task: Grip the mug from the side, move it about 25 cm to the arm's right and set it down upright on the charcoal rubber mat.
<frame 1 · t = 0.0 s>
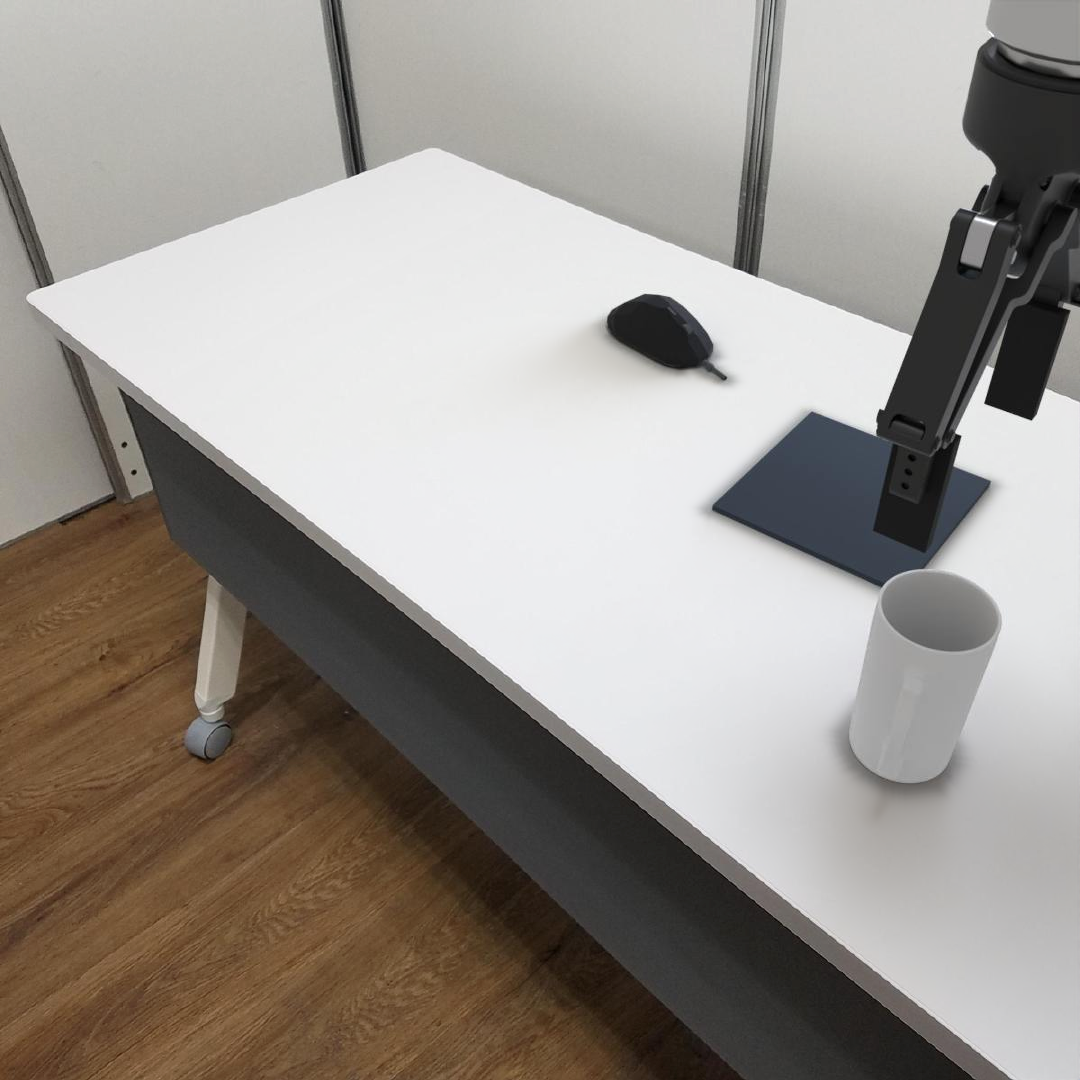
hand: (959, 470, 59), 21 cm above the table, tool pointing down, fingers open, 13 cm apart
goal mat: (851, 497, 90), on the table
mug: (891, 764, 71), on the table
gaming mouse: (669, 348, 107), on the table
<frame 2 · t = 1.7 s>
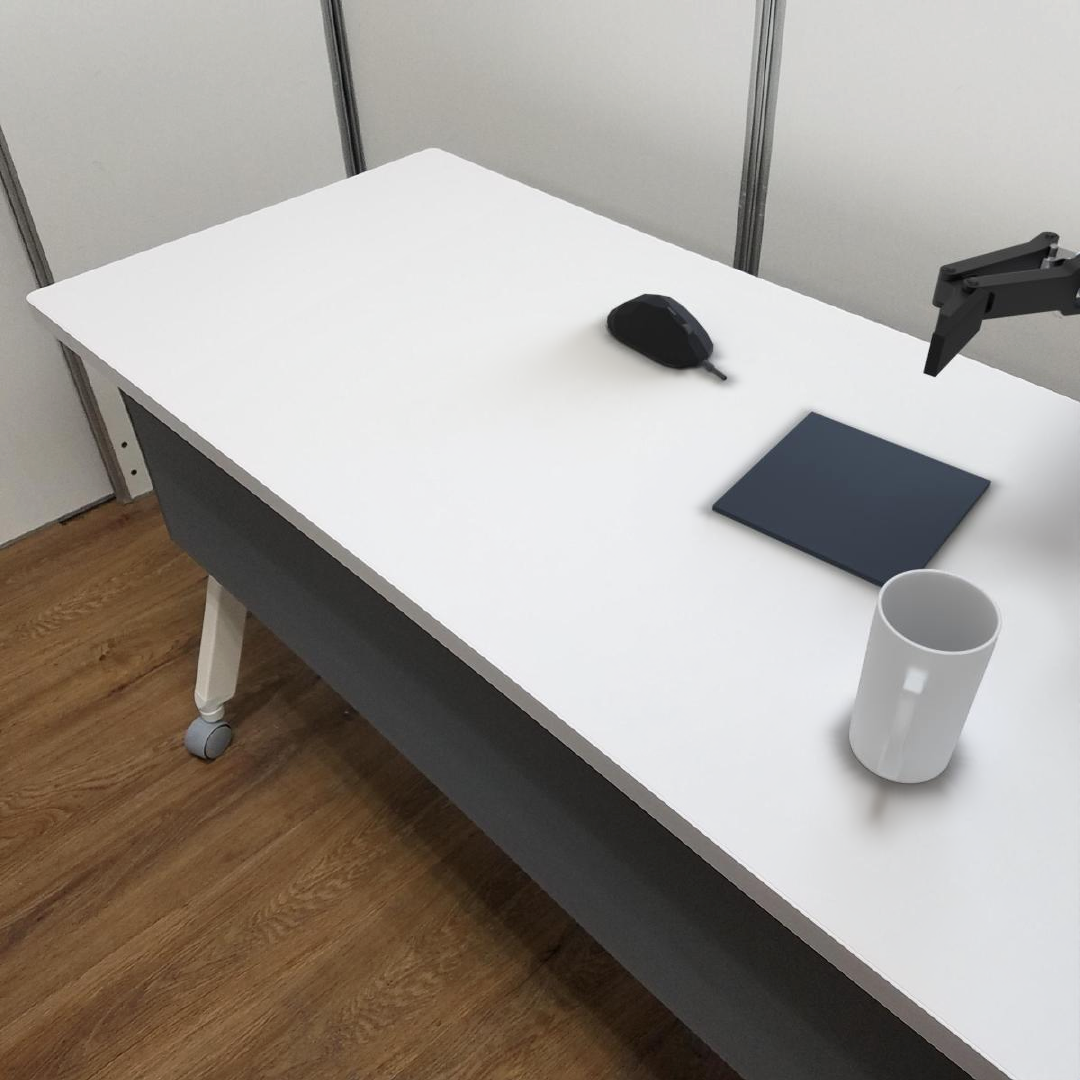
hand: (1050, 396, 62), 22 cm above the table, tool horizontal, fingers open, 13 cm apart
nothing on the table moved.
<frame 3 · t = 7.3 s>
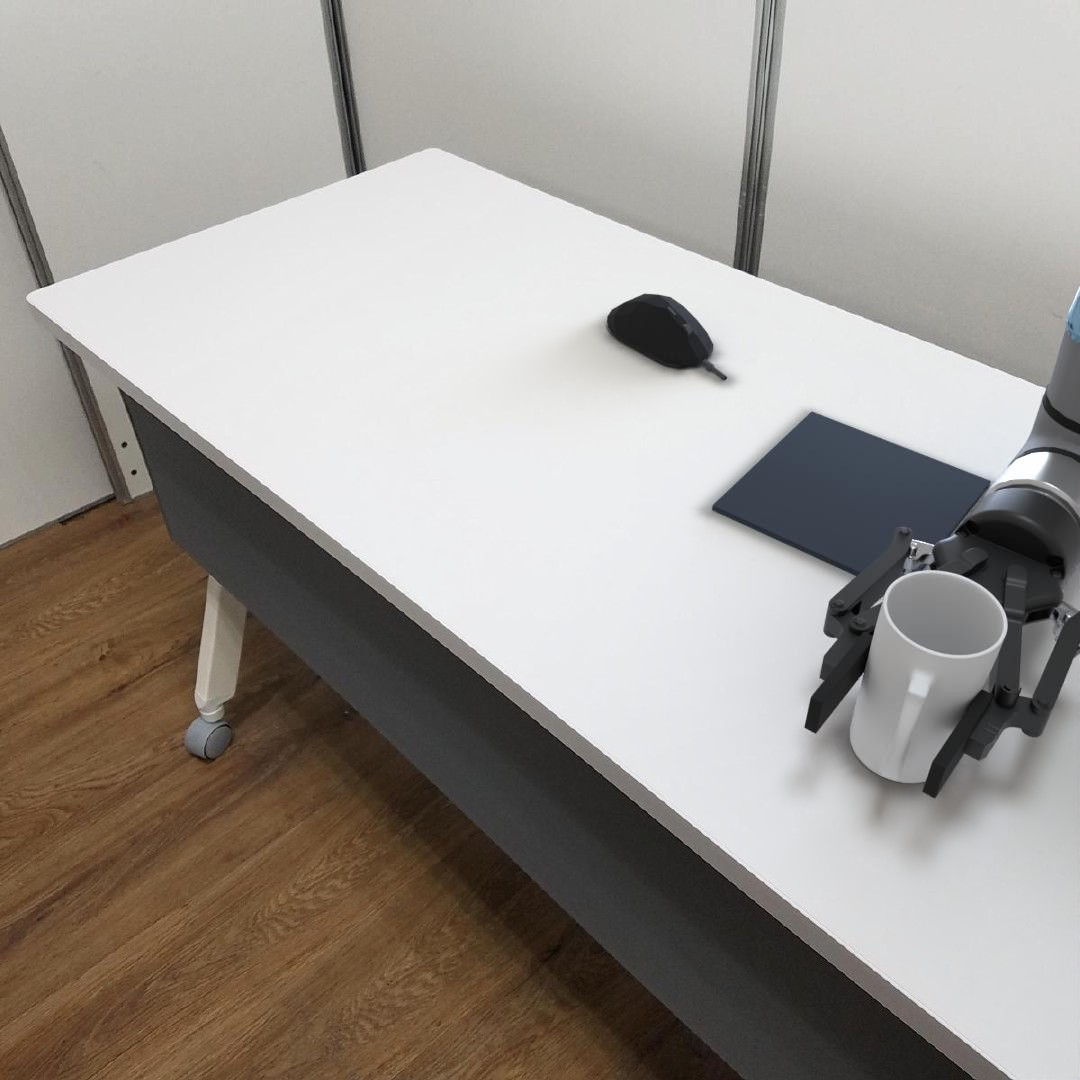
hand: (872, 746, 63), 7 cm above the table, tool horizontal, fingers closed on mug, 7 cm apart
mug: (891, 764, 71), on the table, touching gripper
everything else where it was.
when the fingers open (7 cm above the table, at t = 16.1 s): mug stays where it is, resting on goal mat.
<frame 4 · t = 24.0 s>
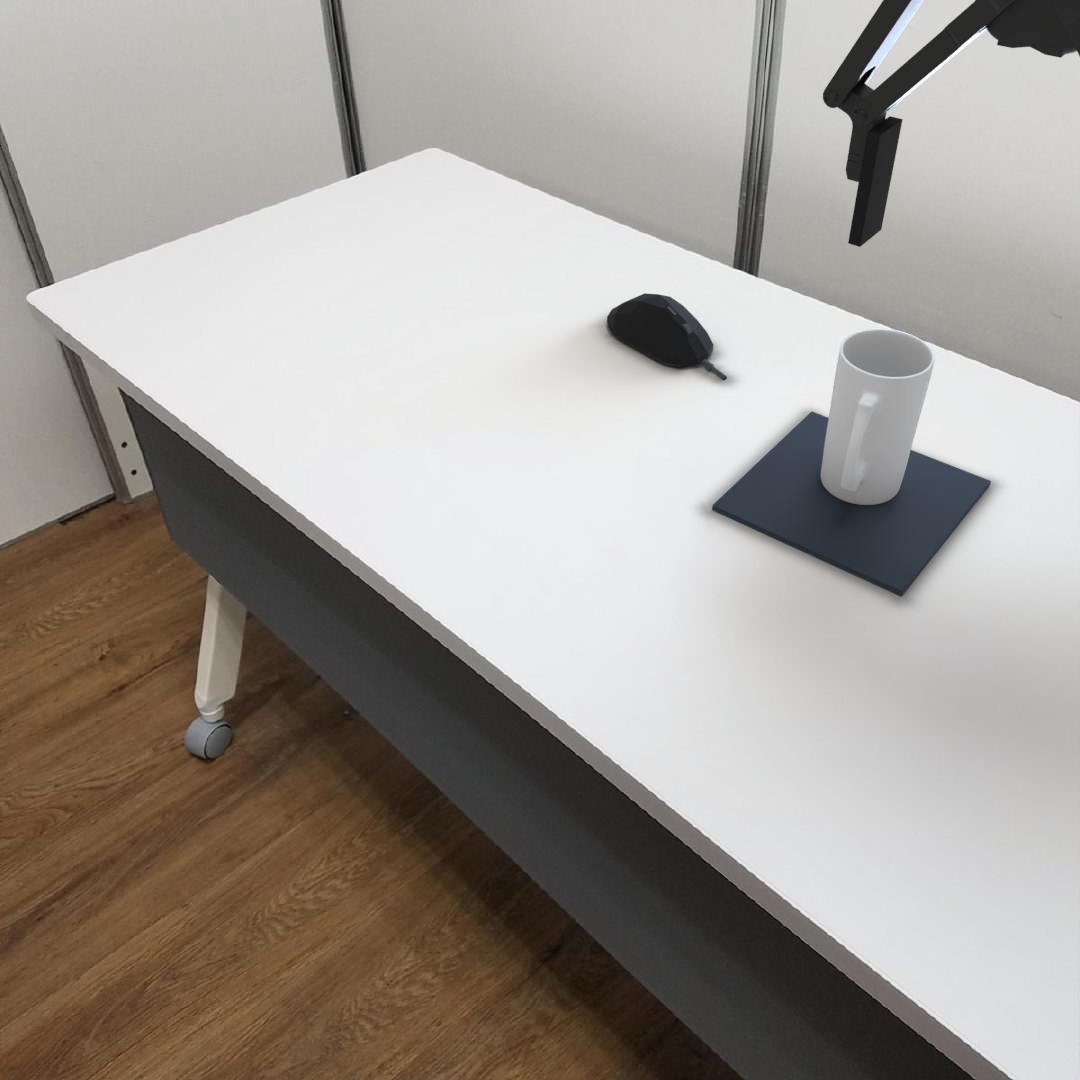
hand: (977, 271, 63), 27 cm above the table, tool pointing down, fingers open, 13 cm apart
mug: (853, 494, 90), resting on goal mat
everything else where it was.
at the end: mug inside the target area on the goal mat (0.1 cm from its centre), point 0.3 cm above the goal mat's base; mug tilted 0° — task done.
